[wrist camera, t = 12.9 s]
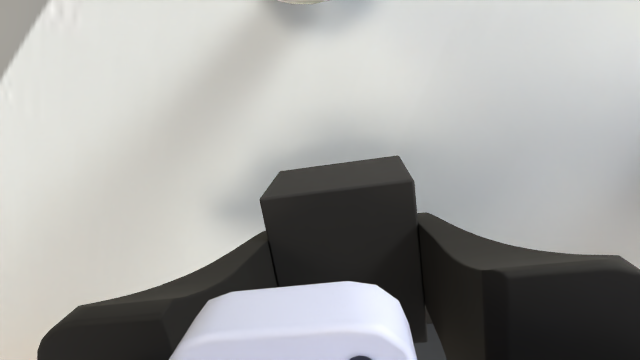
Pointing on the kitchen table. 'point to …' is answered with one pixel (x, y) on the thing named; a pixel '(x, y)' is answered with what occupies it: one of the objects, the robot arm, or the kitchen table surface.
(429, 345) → the black rectangular block
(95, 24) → the kitchen table surface
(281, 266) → the dark grey rectangular block
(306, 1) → the lightbulb
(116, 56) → the kitchen table surface
